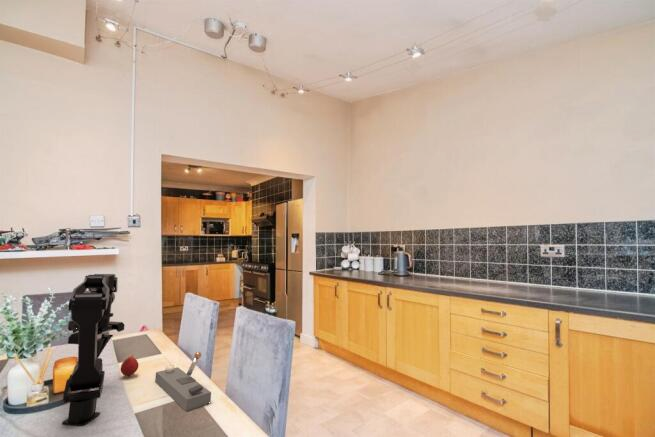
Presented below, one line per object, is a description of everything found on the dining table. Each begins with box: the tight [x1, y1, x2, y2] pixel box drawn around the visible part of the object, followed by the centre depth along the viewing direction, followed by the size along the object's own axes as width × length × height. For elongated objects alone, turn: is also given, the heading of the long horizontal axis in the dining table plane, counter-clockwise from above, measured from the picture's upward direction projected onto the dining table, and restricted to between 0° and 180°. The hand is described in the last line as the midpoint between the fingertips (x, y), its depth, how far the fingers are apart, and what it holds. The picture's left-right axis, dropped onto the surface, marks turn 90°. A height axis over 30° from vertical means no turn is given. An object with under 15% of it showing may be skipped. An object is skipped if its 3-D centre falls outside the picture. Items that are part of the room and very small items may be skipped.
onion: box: [120, 354, 139, 378], centre depth 125 cm, size 6×6×8 cm
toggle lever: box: [186, 351, 202, 377], centre depth 118 cm, size 2×2×8 cm
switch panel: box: [154, 366, 212, 412], centre depth 115 cm, size 8×28×4 cm, turn 46°
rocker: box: [189, 383, 204, 395], centre depth 107 cm, size 4×2×1 cm, turn 136°
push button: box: [164, 364, 175, 373], centre depth 123 cm, size 3×3×2 cm
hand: (95, 358), depth 110 cm, fingers closed
